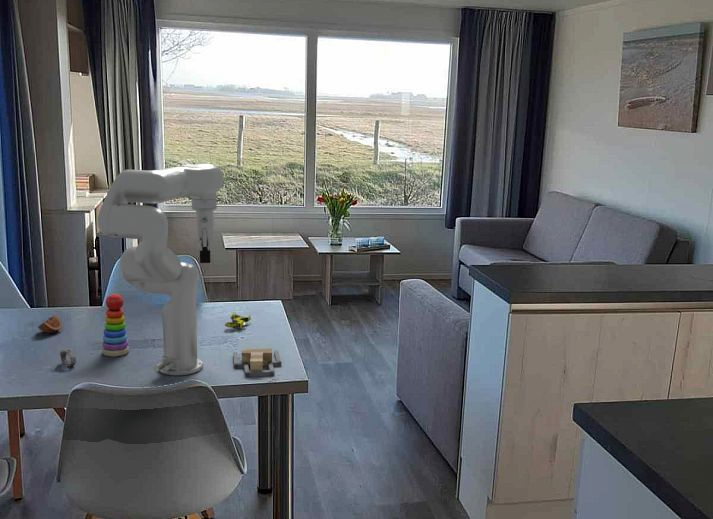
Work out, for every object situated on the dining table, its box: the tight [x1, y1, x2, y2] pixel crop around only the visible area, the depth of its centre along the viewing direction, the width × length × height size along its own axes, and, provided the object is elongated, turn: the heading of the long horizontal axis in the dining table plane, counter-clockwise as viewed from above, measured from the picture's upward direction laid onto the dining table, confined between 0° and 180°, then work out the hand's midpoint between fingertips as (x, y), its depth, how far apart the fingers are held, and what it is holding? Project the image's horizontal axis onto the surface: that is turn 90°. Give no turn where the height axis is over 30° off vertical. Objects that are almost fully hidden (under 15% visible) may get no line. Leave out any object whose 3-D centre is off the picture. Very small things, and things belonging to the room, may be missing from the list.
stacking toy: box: [101, 293, 130, 358], centre depth 209 cm, size 8×8×19 cm
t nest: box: [232, 349, 282, 378], centre depth 205 cm, size 17×14×1 cm
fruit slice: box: [37, 314, 63, 334], centre depth 227 cm, size 8×7×5 cm
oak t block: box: [241, 348, 273, 371], centre depth 203 cm, size 10×9×4 cm
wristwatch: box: [59, 347, 77, 367], centre depth 200 cm, size 4×6×5 cm, turn 51°
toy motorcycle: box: [224, 312, 252, 329], centre depth 240 cm, size 12×4×7 cm
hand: (205, 262), depth 215 cm, fingers closed
